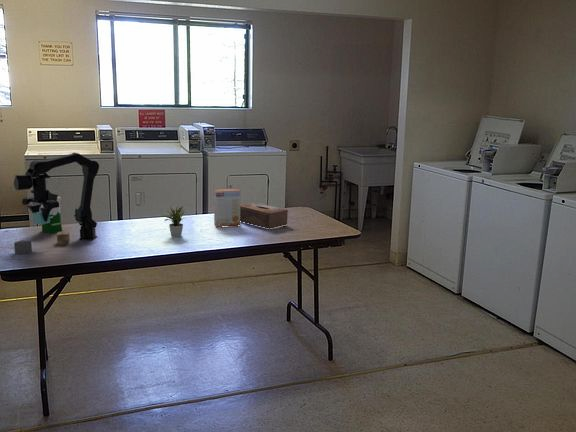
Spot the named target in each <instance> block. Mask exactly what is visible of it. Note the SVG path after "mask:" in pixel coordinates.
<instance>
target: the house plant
mask: <svg viewBox="0 0 576 432" xmlns="http://www.w3.org/2000/svg"><path fill="white" fill-rule="evenodd" d="M167 207H168V208H169V209H170V211H171V212H170V211H168V210H165V212H167V213H168V214H169V215H163V214H162V215H160V216H161V217H163V218H165V219H164V222H167V221H170V223H169V224H168V225H169V232H170V236H172V237H171V238H174V237H178V238H181V237H182V233H183V227H184V224H183V223H181V221H182V220H184V219H185V217H184V218H182V217H183V215H184V214H185V213H186V211H185V210H184V205H182V206H180V207H178V206H176V209H173V208H172V207H171V206H167ZM161 210H163V208H162V209H161ZM180 236H181V237H180Z"/></svg>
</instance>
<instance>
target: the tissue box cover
mask: <svg viewBox="0 0 576 432" xmlns="http://www.w3.org/2000/svg"><path fill="white" fill-rule="evenodd" d="M288 211H289V210H288V209H286V208H283V207H282V208H281V207H277V206H273V205H268V204H265V203H260V202H251V203H246V204H240V221H241V222H245V223H249V224H253V225H257V226H261V227H265V228H269V229H270V228H274V227H278V226H282V225H286V224H287V225H288V213H289V212H288Z"/></svg>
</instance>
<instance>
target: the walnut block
mask: <svg viewBox="0 0 576 432" xmlns="http://www.w3.org/2000/svg"><path fill="white" fill-rule="evenodd" d="M56 241H57V242H56V243H57V245H69V244H70V242H71V241H70V231H58V232H56Z"/></svg>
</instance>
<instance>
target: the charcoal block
mask: <svg viewBox="0 0 576 432" xmlns="http://www.w3.org/2000/svg"><path fill="white" fill-rule="evenodd" d="M13 244H14V248H13V249H14V253H15V254H19V255H26V254H29V253H31V252H33V246H32V240H27V239H26V240H25V239H20V240H18V241H15V242H14V243H13Z"/></svg>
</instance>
